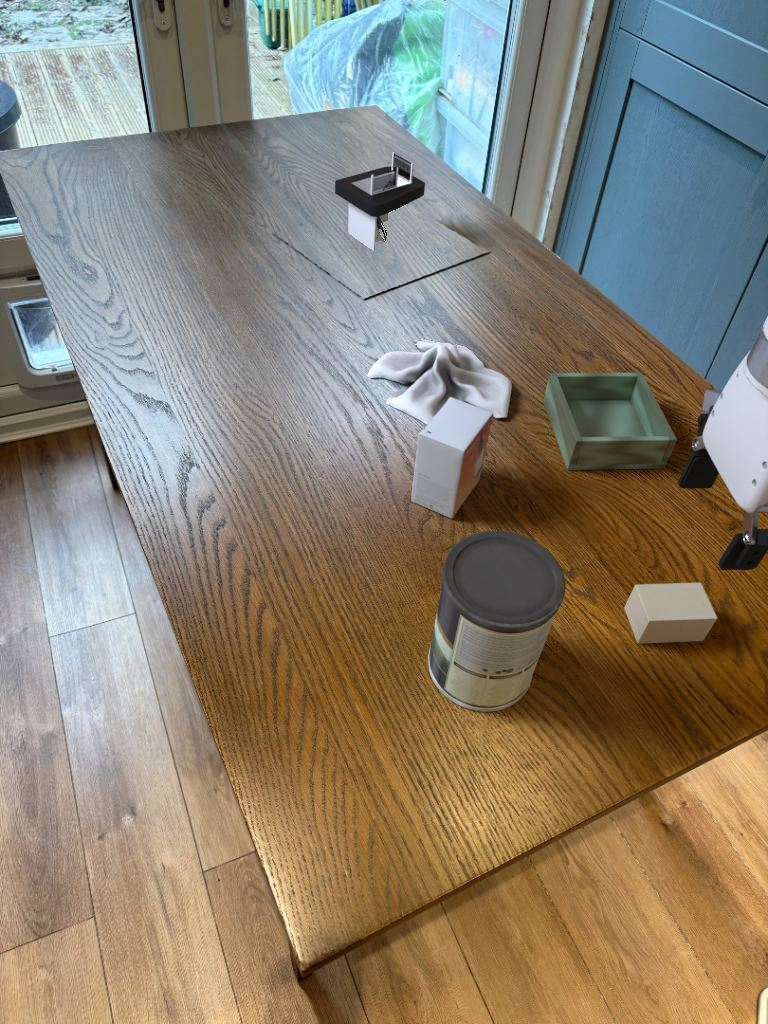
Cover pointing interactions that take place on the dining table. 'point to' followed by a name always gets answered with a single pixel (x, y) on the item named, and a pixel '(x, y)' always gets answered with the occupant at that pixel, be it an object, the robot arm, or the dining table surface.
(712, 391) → the robot arm
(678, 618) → the cream rectangular block
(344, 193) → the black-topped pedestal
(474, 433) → the small box
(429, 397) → the cloth
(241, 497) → the dining table surface
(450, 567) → the coffee can
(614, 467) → the holder
